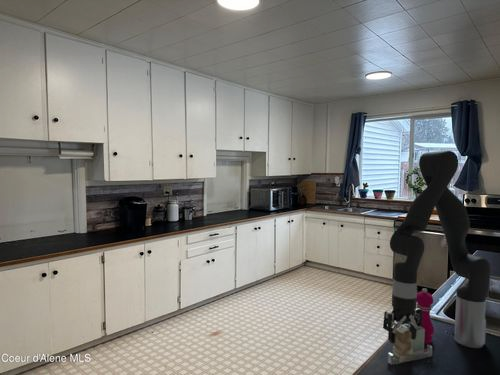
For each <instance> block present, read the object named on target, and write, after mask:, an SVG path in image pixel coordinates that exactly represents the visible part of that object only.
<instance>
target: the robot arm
mask: <svg viewBox="0 0 500 375" xmlns="http://www.w3.org/2000/svg"><path fill="white" fill-rule="evenodd" d="M418 166H419V170H420V173H421V176H422V179H423V180H424V183H425V185H426V188H424V189H423V191H421V193H419V194H418V195H417V196H416V198H414V200H413V201H412V203H411V204H410V206H409V208H408V210H407V213H406V216H405V218H404V220H403V221H402V222H401V224H399V226H398V228H397V229H396V230H395V231H394V233H393V234H392V236H391V237H390V239H389V248H390V250H391V251H392V252H393V253H395V254H397V255H402V256H405V257H406V259H405V260H403V261H400V260H399V261H396V262H395V263H394V266H393V268H394V269H393V281H392V290H391V306H392V311H390V312H388V311H387V310H386V311H384V312H383V314H384V315H383V325H382V328H383V329H384V330H385V331H387V332H388V334H387V336H388V337H387V340H388V341H389V342H390V343H391V344H395V337H396V333H395V331H396V330H397V329H399V328H401V325H406V324H409V325H410V326H411V327H409V331H410V332H411V339H413V340H414V339H416V333H417V328H418V327H419V326H420V327H421V326H422V310H421V309H419V308H417V293H418V284H417V283H418V282H417V278H418V269H419V266H420V262H421V260H422V257H423V255H424V252H425V243H424V241H423V239H422V238H421V237H419V236H416V235H413V234H414V233H423V232H425V230H426V229H427V227H428V224H429V223H430V219H431V217H432V215H433V212H434V209H435V210H436V213H437V217H438V219H439V224H440V225H441V228H442V230H443V234H444V238H445V241H446V244H447V248H448V252H449V258H450V262H451V263H450V264H451V267H452V269H453V271H454V273H455V274H456V275H457V276H460V277H461V278H464V279H466V280H468V284H467V285H462V286H458V287H457V289H456V295H455V296H456V297H455V315H454V317H455V318H454V336H453V337H454V341H455V342H456V343H458V344H460V345H461V346H464V347H467V348H471V349H481V348H483V347H484V345H485V344H486V332H487V331H486V328H487V319H486V303H487V302H486V301H487V295H488V293H489V290H490V280H491V279H490V278H491V265H490V262H489V260H488V259H486V258H484V257H482V256H479V255H474V254H471V253H470V252H469V250H468V248H467V244H466V237H467V235H468V232H469V231H470V228H471V221H470V217H469V214H468V211H467V208H466V206H465V204H464V203H463V201H462V200H461V199H460V198H458V196H457V195H456V194H455V193H454V192H452V191H451V189H450V188H449V187H448V186H449V184H450V183H451V181H452V180H453V177H454V176H455V174H456V172H457V171H458V168H459V158H458V155H457V154H456V153H455V152H454V151H452V150H439V151H438V150H437V151H436V150H435V151H429V152H424V153H422V154H421V155H420V157H419V161H418Z"/></svg>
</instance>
